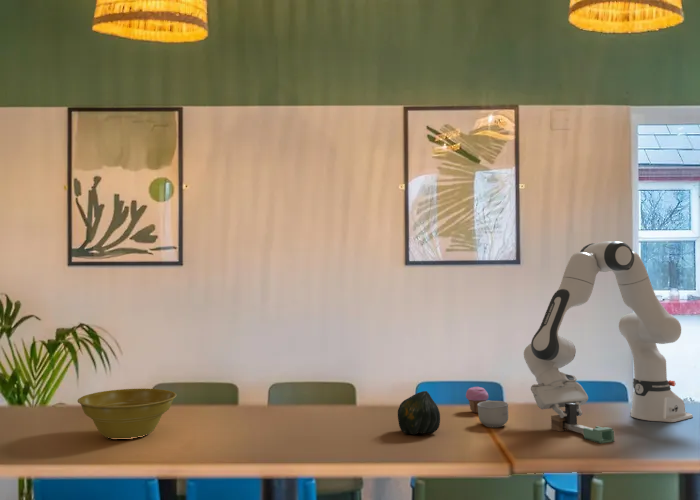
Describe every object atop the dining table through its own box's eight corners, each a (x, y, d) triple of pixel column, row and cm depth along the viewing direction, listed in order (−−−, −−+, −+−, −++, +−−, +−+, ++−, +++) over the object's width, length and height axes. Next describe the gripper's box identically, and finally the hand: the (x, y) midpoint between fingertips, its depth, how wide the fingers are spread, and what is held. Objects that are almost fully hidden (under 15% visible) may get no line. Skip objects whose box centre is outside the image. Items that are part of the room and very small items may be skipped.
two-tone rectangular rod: (565, 425, 223) (564, 400, 224) (597, 435, 209) (596, 408, 210) (558, 426, 222) (557, 401, 222) (590, 436, 208) (589, 409, 209)
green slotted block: (597, 436, 211) (597, 424, 211) (614, 441, 205) (613, 428, 205) (583, 438, 209) (583, 426, 209) (599, 443, 202) (599, 430, 203)
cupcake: (490, 414, 246) (490, 388, 247) (468, 414, 246) (467, 388, 247) (486, 409, 255) (485, 384, 255) (464, 409, 255) (464, 384, 256)
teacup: (509, 429, 222) (508, 406, 222) (477, 428, 224) (477, 405, 224) (507, 420, 235) (507, 399, 236) (477, 419, 237) (477, 398, 238)
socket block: (567, 426, 225) (566, 413, 225) (575, 429, 221) (574, 416, 222) (551, 428, 222) (551, 415, 223) (559, 431, 219) (559, 418, 219)
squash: (382, 416, 220) (405, 386, 214) (409, 411, 231) (431, 382, 225) (406, 449, 212) (431, 419, 206) (432, 442, 223) (457, 414, 217)
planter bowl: (194, 434, 219) (194, 395, 220) (104, 454, 196) (105, 409, 196) (146, 420, 241) (147, 385, 242) (60, 436, 218) (61, 397, 218)
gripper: (532, 379, 221) (552, 413, 212) (578, 375, 229) (599, 407, 220) (524, 390, 225) (543, 424, 216) (569, 386, 233) (590, 418, 224)
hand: (572, 416), depth 218 cm, fingers open, 5 cm apart
